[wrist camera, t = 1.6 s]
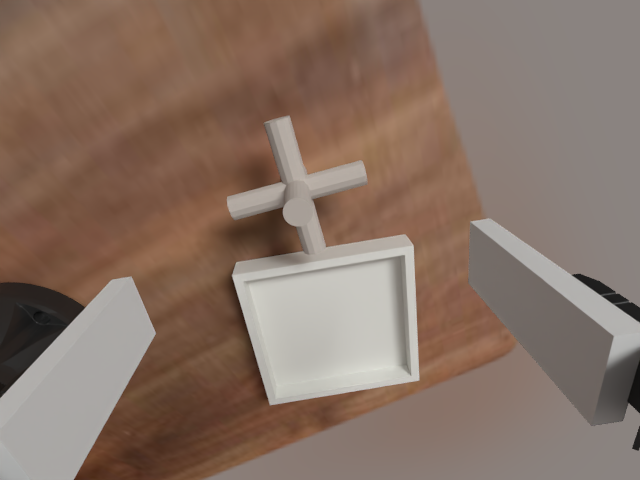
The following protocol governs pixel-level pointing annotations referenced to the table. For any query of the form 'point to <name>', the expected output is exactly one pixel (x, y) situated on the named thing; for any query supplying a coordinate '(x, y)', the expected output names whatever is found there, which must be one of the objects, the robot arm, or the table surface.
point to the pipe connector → (296, 187)
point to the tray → (332, 318)
